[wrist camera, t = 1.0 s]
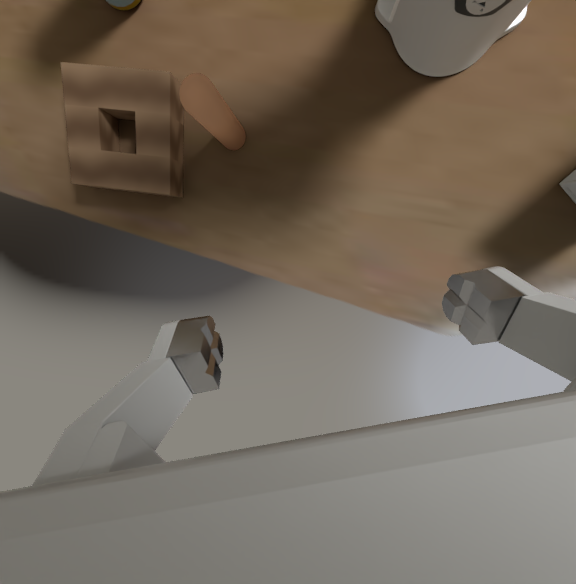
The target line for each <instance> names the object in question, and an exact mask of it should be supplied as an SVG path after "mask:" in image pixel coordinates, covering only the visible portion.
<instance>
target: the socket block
mask: <svg viewBox="0 0 576 584" xmlns="http://www.w3.org/2000/svg"><path fill="white" fill-rule="evenodd" d="M61 72H62V83H63V95H64V106H65V117H66V128H67V140H68V151H69V162H70V173H71V183H72V184H77V185H83V186H88V187H94V188H103V189H112V190H120V191H129V192H137V193H146V194H154V195H163V196H171V197H180V198H183V136H184V107H183V106H182V103H181V101H180V95H179V92H180V86H181V83H180V82H179V81H178V80H177V79H176V78H175V76H174V75H173V74H172V73H171V72H168V71H157V70H146V69H134V68H123V67H111V66H100V65H89V64H77V63H66V62H61ZM118 119H124V120H134V121H135V123H136V154H131V153H122V152H120V148H119V125H118Z"/></svg>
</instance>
